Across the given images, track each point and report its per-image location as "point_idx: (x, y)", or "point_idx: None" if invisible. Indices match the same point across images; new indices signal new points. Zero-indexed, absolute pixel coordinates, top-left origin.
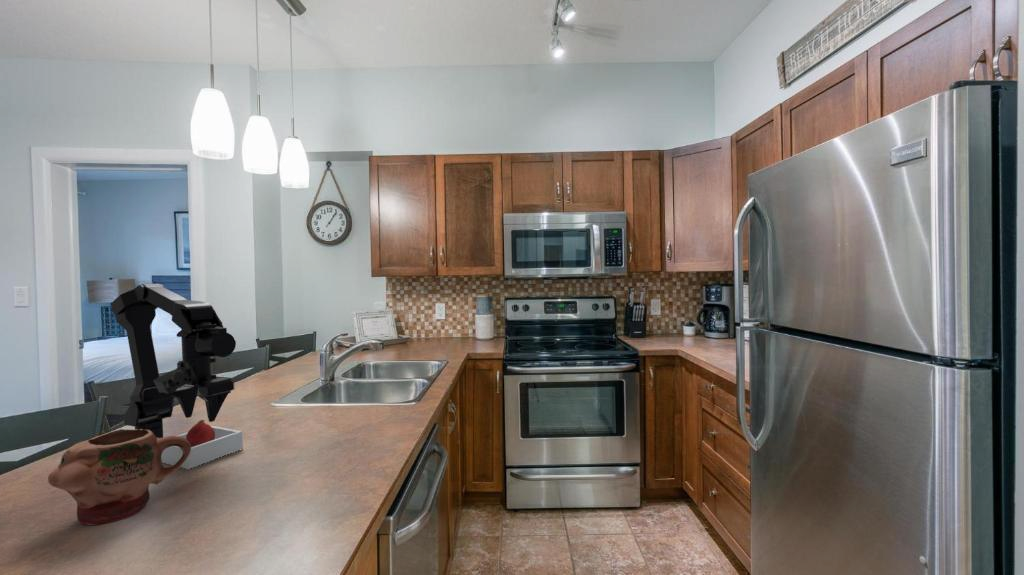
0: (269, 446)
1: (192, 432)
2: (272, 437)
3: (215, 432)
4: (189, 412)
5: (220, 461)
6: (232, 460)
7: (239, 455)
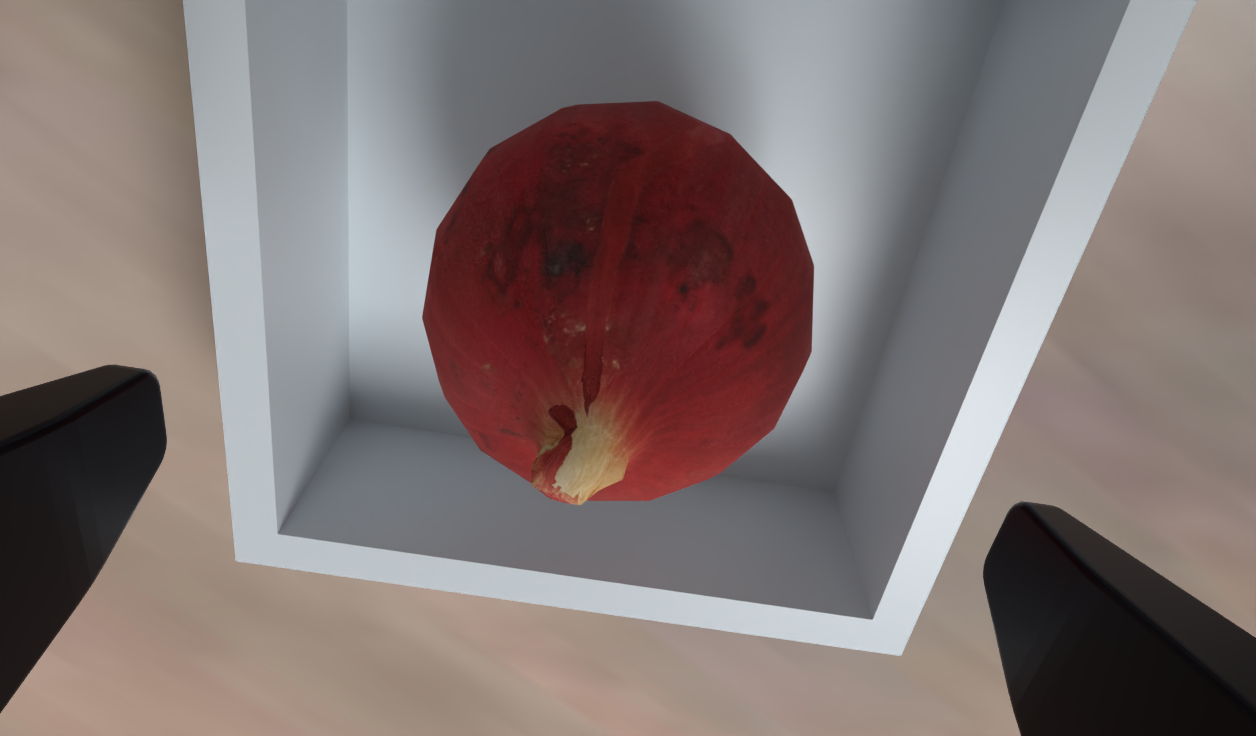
0: (144, 525)
1: (582, 198)
2: (352, 682)
3: (740, 558)
4: (1037, 626)
5: None
6: (101, 165)
7: (184, 295)
